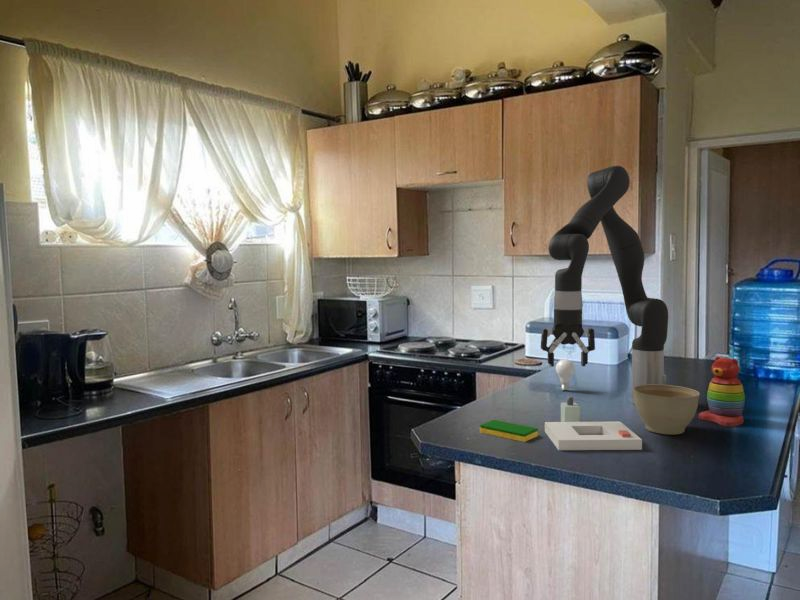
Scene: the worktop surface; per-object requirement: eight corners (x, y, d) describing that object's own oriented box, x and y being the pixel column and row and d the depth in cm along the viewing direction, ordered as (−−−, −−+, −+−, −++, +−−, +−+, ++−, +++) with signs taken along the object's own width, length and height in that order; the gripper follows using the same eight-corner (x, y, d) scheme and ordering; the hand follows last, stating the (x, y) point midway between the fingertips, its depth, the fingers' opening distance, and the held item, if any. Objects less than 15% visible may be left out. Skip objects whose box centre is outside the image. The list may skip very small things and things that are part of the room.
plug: (575, 423, 172) (575, 395, 171) (579, 428, 167) (579, 399, 166) (560, 423, 172) (560, 395, 171) (564, 428, 167) (565, 399, 166)
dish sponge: (524, 443, 156) (524, 434, 155) (479, 433, 165) (479, 424, 165) (538, 437, 161) (538, 428, 161) (493, 427, 170) (493, 419, 170)
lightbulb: (554, 392, 210) (554, 360, 209) (557, 388, 216) (557, 357, 215) (573, 393, 208) (573, 361, 207) (575, 389, 214) (575, 358, 213)
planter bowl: (694, 442, 153) (695, 399, 152) (627, 433, 161) (627, 393, 160) (702, 427, 166) (702, 387, 165) (639, 419, 175) (639, 381, 174)
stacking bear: (694, 418, 175) (696, 356, 174) (720, 414, 179) (721, 353, 178) (728, 427, 165) (730, 362, 164) (754, 423, 169) (756, 359, 168)
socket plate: (619, 430, 164) (620, 418, 164) (641, 449, 148) (642, 436, 148) (544, 431, 165) (544, 419, 164) (558, 450, 149) (558, 436, 148)
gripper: (590, 306, 171) (590, 363, 172) (539, 306, 172) (538, 363, 173) (598, 308, 164) (597, 368, 165) (544, 308, 164) (543, 368, 166)
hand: (567, 365), depth 169 cm, fingers open, 8 cm apart
